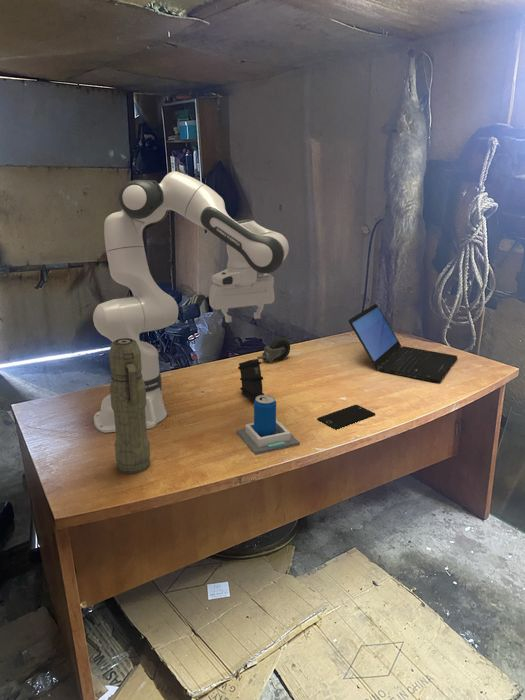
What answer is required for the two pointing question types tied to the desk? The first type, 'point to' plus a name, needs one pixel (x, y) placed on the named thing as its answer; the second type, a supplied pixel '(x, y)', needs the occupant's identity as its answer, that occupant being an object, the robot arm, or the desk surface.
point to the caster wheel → (276, 350)
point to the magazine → (251, 379)
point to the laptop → (385, 343)
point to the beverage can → (265, 415)
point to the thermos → (129, 406)
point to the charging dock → (267, 439)
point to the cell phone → (345, 416)
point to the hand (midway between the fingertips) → (242, 320)
